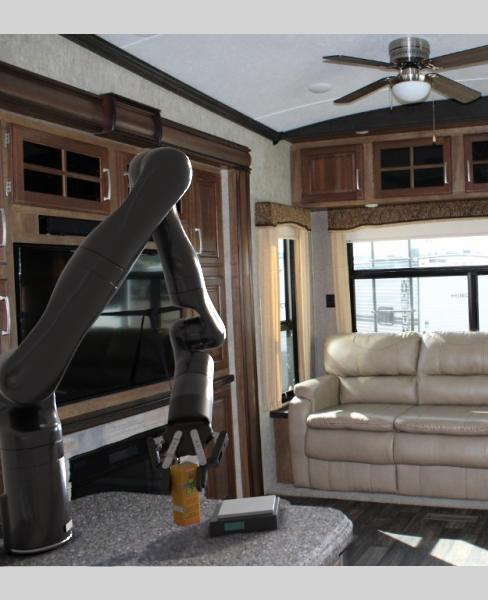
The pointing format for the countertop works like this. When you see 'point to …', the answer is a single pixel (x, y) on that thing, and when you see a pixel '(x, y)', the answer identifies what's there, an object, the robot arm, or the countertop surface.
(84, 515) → the countertop surface
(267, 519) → the scale
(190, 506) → the supplement box
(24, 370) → the robot arm
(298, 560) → the countertop surface
